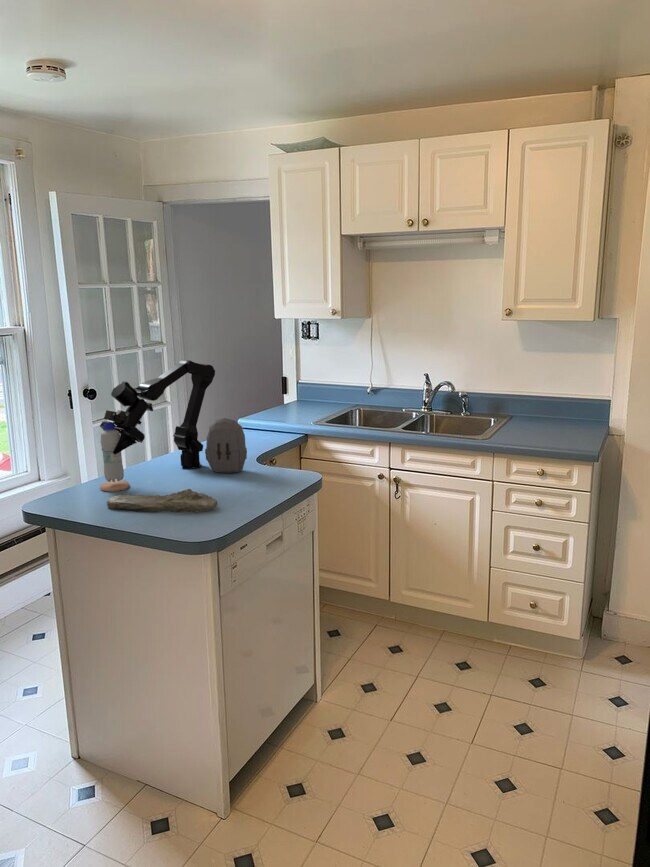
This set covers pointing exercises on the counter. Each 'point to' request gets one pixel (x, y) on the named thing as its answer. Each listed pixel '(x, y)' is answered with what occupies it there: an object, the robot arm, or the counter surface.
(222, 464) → the soft grey pack
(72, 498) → the counter surface
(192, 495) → the long grey stone
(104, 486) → the peach round piece
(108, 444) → the bottle
